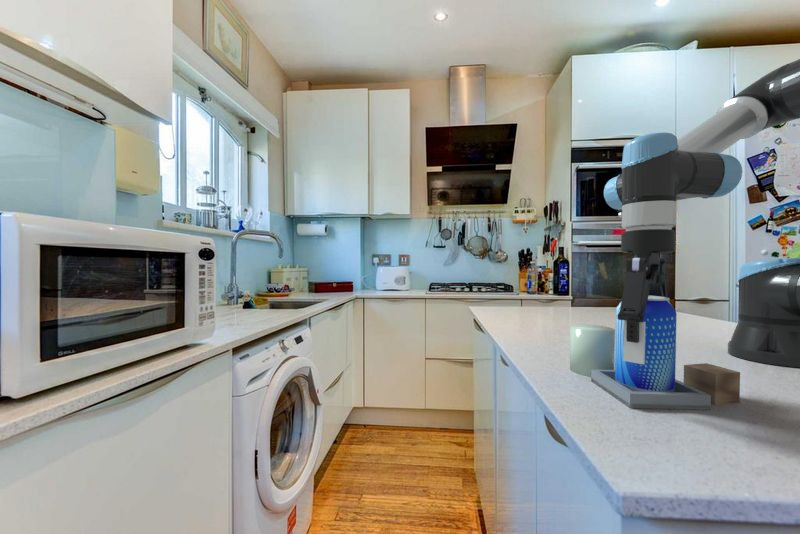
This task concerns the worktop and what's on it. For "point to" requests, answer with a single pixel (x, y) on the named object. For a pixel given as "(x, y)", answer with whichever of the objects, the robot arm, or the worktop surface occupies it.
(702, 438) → the worktop surface
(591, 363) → the pale green cylinder
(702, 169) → the robot arm
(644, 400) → the slate tray
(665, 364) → the beer can
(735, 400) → the walnut block
